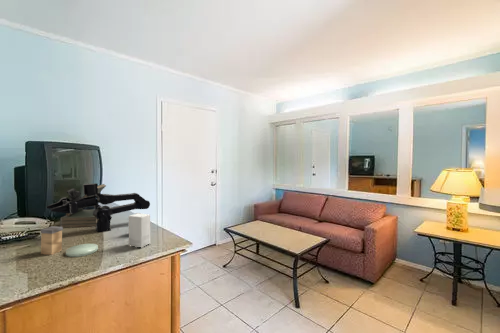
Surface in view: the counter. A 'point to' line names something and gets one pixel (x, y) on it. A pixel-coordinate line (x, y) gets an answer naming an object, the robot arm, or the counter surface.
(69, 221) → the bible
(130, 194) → the robot arm
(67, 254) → the sage green coaster
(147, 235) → the skincare box
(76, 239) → the counter surface
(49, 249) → the grey cushioned footstool
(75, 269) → the counter surface
